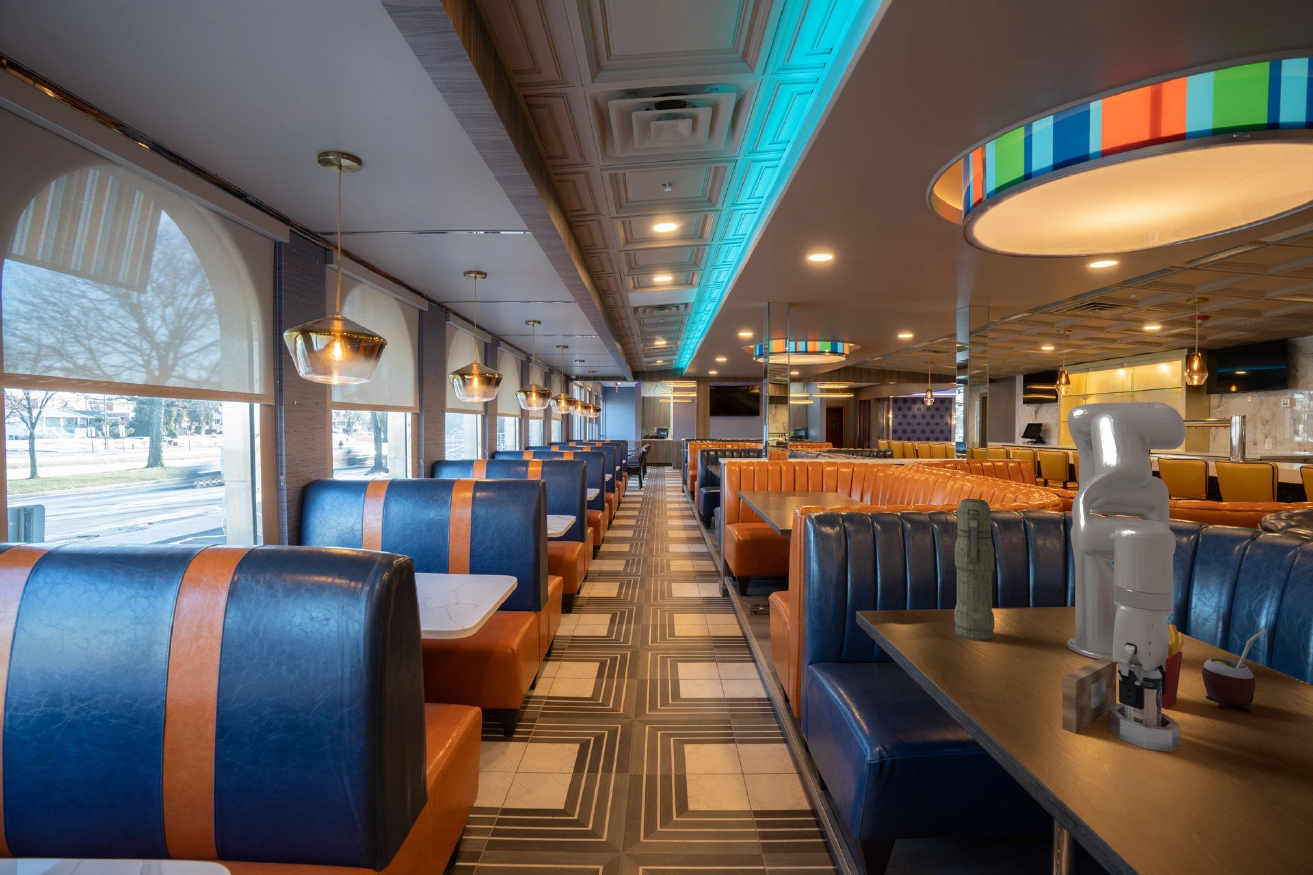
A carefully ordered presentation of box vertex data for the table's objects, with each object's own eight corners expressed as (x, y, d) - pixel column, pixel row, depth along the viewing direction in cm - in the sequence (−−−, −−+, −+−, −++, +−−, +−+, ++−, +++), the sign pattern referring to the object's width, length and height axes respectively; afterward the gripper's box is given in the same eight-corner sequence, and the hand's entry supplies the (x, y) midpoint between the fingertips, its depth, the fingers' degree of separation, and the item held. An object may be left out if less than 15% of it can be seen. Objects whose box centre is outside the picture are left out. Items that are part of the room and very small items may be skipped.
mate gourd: (1194, 700, 106) (1194, 623, 106) (1214, 692, 109) (1214, 618, 110) (1248, 718, 99) (1248, 636, 99) (1268, 709, 103) (1268, 630, 103)
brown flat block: (1103, 703, 105) (1103, 656, 105) (1118, 708, 103) (1118, 661, 103) (1062, 728, 96) (1062, 677, 96) (1078, 734, 94) (1078, 682, 94)
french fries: (1172, 712, 102) (1172, 632, 102) (1116, 695, 109) (1116, 619, 109) (1187, 700, 106) (1187, 623, 106) (1133, 684, 113) (1133, 611, 113)
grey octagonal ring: (1122, 719, 99) (1122, 699, 99) (1185, 741, 92) (1185, 720, 92) (1102, 732, 95) (1102, 712, 95) (1166, 756, 88) (1166, 735, 88)
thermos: (956, 640, 138) (956, 501, 138) (952, 625, 149) (952, 496, 149) (997, 645, 134) (997, 503, 134) (990, 630, 145) (990, 498, 145)
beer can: (1169, 745, 91) (1169, 673, 91) (1136, 742, 92) (1136, 670, 92) (1149, 730, 96) (1149, 661, 95) (1118, 727, 96) (1118, 659, 96)
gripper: (1134, 586, 101) (1134, 678, 101) (1094, 601, 92) (1094, 702, 92) (1189, 596, 95) (1189, 694, 95) (1152, 613, 86) (1152, 722, 86)
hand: (1142, 698), depth 94 cm, fingers open, 9 cm apart
